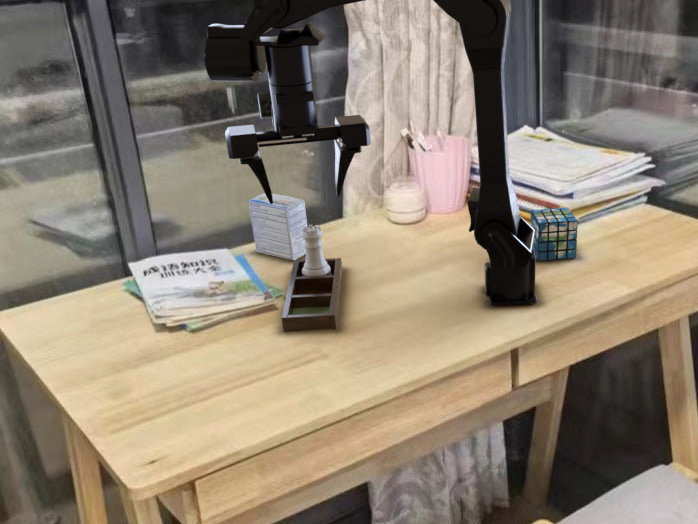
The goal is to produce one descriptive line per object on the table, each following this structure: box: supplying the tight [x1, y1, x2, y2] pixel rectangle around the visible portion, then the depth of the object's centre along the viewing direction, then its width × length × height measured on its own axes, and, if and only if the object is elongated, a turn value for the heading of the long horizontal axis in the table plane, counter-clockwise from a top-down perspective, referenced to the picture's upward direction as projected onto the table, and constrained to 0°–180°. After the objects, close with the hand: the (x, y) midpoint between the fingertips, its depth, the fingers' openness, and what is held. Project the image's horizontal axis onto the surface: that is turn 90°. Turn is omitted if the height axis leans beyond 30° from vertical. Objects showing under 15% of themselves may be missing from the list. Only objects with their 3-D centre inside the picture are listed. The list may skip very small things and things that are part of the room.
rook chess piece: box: [301, 224, 332, 277], centre depth 138 cm, size 4×4×8 cm
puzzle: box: [529, 207, 579, 262], centre depth 145 cm, size 6×6×6 cm
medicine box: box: [248, 192, 309, 261], centre depth 148 cm, size 8×4×9 cm, turn 58°
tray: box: [281, 257, 344, 333], centre depth 134 cm, size 7×20×2 cm, turn 3°
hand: (305, 199), depth 130 cm, fingers open, 9 cm apart
